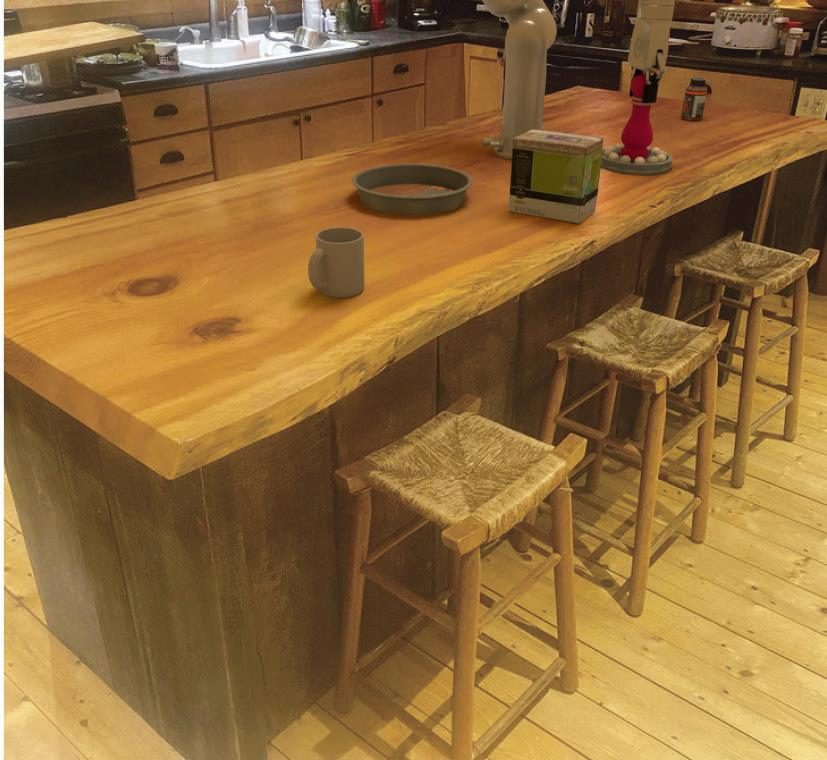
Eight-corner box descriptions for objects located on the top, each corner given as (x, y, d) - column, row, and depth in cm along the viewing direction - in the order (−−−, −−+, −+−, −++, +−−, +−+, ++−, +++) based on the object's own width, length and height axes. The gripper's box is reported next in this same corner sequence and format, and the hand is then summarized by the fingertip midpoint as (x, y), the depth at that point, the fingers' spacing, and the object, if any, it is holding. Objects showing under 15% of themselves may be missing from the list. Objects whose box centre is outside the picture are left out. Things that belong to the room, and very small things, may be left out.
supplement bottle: (676, 117, 242) (683, 76, 236) (694, 116, 243) (701, 76, 238) (688, 122, 237) (695, 80, 231) (706, 121, 238) (713, 79, 233)
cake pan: (482, 188, 179) (483, 167, 177) (456, 224, 159) (457, 201, 156) (373, 178, 185) (373, 158, 183) (335, 212, 164) (334, 190, 162)
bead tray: (614, 177, 187) (616, 161, 185) (586, 157, 202) (587, 142, 200) (683, 173, 190) (686, 157, 188) (651, 154, 205) (653, 139, 203)
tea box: (596, 211, 166) (605, 136, 158) (578, 225, 158) (587, 147, 151) (527, 199, 172) (533, 126, 165) (506, 212, 165) (511, 136, 157)
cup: (374, 289, 131) (373, 234, 126) (327, 308, 124) (324, 252, 120) (342, 276, 135) (340, 224, 131) (295, 295, 128) (291, 240, 124)
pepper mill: (647, 153, 198) (661, 64, 188) (652, 161, 192) (666, 70, 182) (616, 152, 198) (629, 63, 188) (620, 160, 192) (633, 68, 182)
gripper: (622, 9, 186) (611, 92, 195) (656, 18, 172) (643, 108, 181) (653, 8, 188) (641, 92, 197) (689, 18, 173) (675, 107, 182)
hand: (642, 98), depth 188 cm, fingers closed on pepper mill, 6 cm apart
